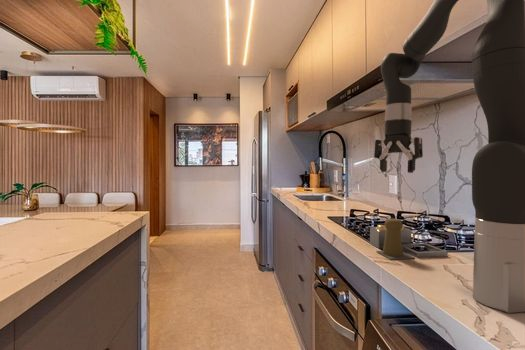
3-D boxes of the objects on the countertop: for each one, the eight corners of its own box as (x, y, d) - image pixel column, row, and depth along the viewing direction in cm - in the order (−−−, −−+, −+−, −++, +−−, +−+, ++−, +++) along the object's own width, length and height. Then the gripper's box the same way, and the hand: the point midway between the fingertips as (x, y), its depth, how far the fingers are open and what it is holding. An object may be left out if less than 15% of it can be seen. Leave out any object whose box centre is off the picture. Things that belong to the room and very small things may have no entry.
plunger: (387, 240, 105) (388, 226, 105) (379, 241, 105) (380, 226, 105) (383, 238, 108) (383, 224, 108) (375, 239, 108) (375, 225, 108)
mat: (414, 258, 92) (414, 257, 92) (390, 259, 91) (390, 258, 91) (399, 251, 100) (399, 250, 100) (376, 252, 99) (376, 250, 99)
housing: (447, 256, 95) (448, 237, 95) (397, 258, 92) (398, 239, 92) (412, 242, 112) (412, 226, 112) (369, 243, 109) (370, 227, 109)
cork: (383, 249, 100) (384, 216, 100) (403, 252, 97) (404, 218, 97) (381, 254, 95) (382, 219, 94) (403, 257, 92) (403, 221, 92)
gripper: (370, 121, 97) (369, 171, 98) (415, 115, 86) (414, 173, 87) (383, 123, 102) (382, 171, 103) (427, 118, 91) (426, 172, 91)
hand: (396, 172), depth 95 cm, fingers open, 8 cm apart
